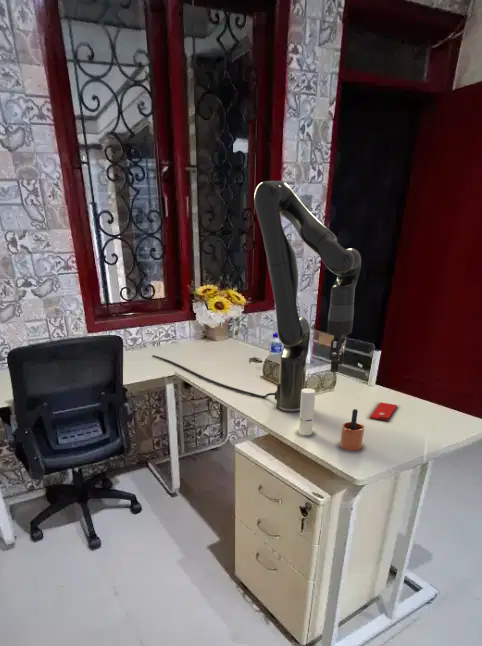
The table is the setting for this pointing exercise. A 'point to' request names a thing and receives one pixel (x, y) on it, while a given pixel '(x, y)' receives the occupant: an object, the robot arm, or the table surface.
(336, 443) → the table surface
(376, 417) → the electronic device
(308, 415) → the tube
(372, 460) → the table surface
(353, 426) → the stylus
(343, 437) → the pen cup
